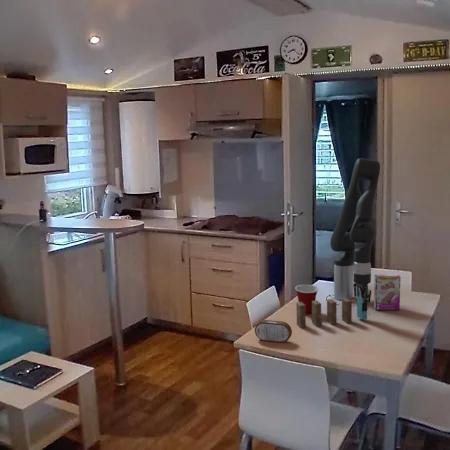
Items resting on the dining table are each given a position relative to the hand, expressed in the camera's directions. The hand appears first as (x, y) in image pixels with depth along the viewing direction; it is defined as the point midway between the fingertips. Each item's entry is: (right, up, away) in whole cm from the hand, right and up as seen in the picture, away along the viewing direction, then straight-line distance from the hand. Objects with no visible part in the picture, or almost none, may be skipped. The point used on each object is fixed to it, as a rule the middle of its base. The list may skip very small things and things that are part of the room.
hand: (361, 309), depth 249 cm
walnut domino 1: (-27, -7, -4) cm, 29 cm away
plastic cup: (-22, -4, +14) cm, 26 cm away
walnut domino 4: (-7, -5, 0) cm, 9 cm away
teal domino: (0, -4, +1) cm, 4 cm away
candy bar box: (+15, -3, +15) cm, 21 cm away
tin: (-41, -10, -21) cm, 47 cm away
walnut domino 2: (-21, -6, -3) cm, 22 cm away
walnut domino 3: (-14, -6, -2) cm, 15 cm away
